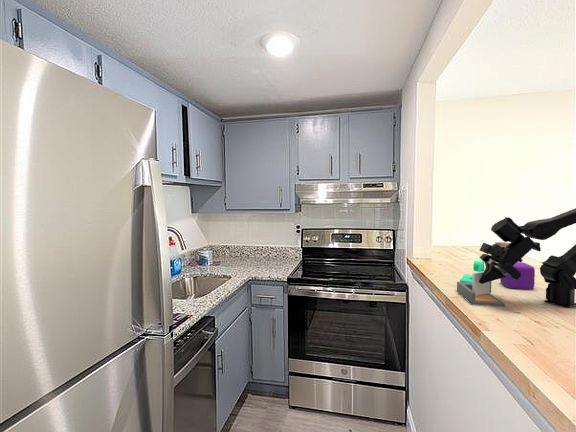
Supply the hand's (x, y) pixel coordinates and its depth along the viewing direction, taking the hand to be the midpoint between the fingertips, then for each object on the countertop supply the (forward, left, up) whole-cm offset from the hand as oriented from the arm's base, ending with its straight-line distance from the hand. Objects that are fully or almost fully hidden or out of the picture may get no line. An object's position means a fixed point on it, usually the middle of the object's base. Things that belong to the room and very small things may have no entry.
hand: (479, 282), depth 109 cm
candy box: (+16, -45, -6) cm, 49 cm away
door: (+1, -3, -5) cm, 6 cm away
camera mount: (+14, -18, -7) cm, 24 cm away
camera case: (+2, -2, -6) cm, 7 cm away
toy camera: (+5, -31, -7) cm, 33 cm away
